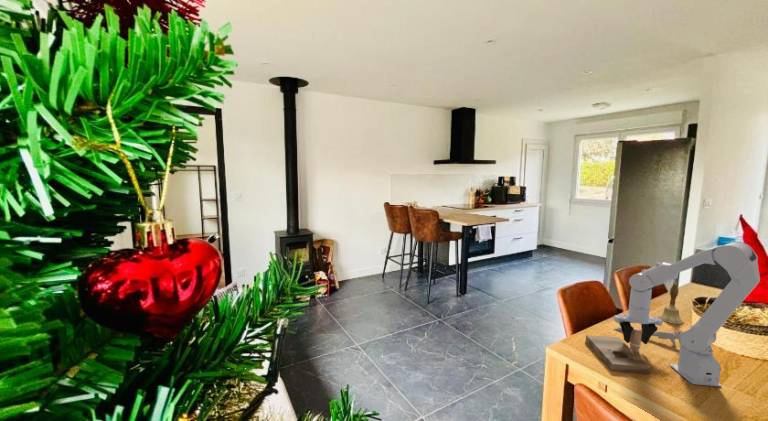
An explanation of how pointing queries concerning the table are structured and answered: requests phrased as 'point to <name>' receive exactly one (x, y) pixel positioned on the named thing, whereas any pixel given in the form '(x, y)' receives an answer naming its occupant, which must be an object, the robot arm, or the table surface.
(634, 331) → the peg
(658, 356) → the table surface
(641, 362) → the board
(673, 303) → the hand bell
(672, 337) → the caliper
